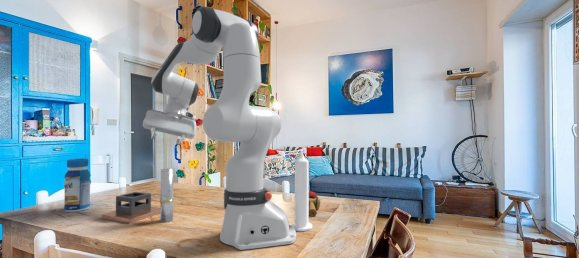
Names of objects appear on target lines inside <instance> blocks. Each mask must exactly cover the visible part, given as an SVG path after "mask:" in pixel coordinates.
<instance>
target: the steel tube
mask: <svg viewBox="0 0 579 258" xmlns="http://www.w3.org/2000/svg"><path fill="white" fill-rule="evenodd" d="M174 201H175V200H174V168H173V167H172V168H171V167H168V168H166V167H165V168H161V169H160V200H159V203H160V208H161V211H160V213H159V214H160V215H159V216H160V217H159V218H160V219H159V220H160V221H159V222H161V223H170V222H172V221H174Z"/></svg>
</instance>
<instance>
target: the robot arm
mask: <svg viewBox="0 0 579 258" xmlns="http://www.w3.org/2000/svg"><path fill="white" fill-rule="evenodd" d="M191 31H192V35H191V37H190V38H189V39H188V40H187V41H180V42H178V43H177V44H176V45H175V46H174V48H173V49H172V50H171V52H170V53H169V54H168V56H167V57H166V59H164V62H163V63H162V64H161V66H160V67H159V68H158V69H157V71H156V72H155V73H154V74H153V76H152V78H151V82H150V85H151V87H152V89H153V90H154V91H155V93H159V94H161V95H167V96H169V97H168V98H167V103H166V105H165V108H164V109H163V111H161V110H156V109H149V110H147V111H146V112H145V117H144V119H143V121H142V127H143V129H146V130H150V134H151V135H150V136H151V137H150V140H156V137H157V133H155V132H159V133H164V134H168V135H172V136H177V137H180V138H176V139H177V140H176V143H175V145H179V146H180V145H181V143H182V141H184V140H185V139H189V140H192V139H194V138H195V135H196V131H197V130H196V129H197V124H196V118H197V116H196V115H195V114H193V113H191V112H190V111H188V110H187V109H188V108H189V107H190V106H192V105H193V104H194V103H195V102H196V100H197V99H198V98H197V97H198V94H199V91H200V88H199V85H198V83H197V82H196V81H194V80H192V79H190V78H186V77H184V76H182V75H179V74H177V73H175V72H173V71H174V69H175V68H176V66H177V65H179V64H183V63H184V64H185V63H186V64H194V65H200V66H203V65H208V64H211V63H213V62H214V61H215V60H216V59H217V58H218V56H219V54H220V52H221V51H222V59H223V84H222V89H221V91H220V95H219V97H218V98H217V100H216V101H215V102H214V103H213V104H212V105H211V106H209V107H208V108H207V109H206V111H205V113H204V114H203V118H202V127H203V131H204V133H205V134H206V137H207V138H209V139H210V140H213V141H217V142H222V143H240V144H239V147H238V150H237V151H236V153H235V154H234V155H233V156H231V157H230V158H229V159H228V160H227V162H226V166H225V188H224V191H223V192H224V193H223V209H224V215H223V220H222V221H223V222H222V227H221V228H222V229H221V232H220V235H219V240H220V242H221V243H224V244H225V245H229V246H232V247H234V248H236V249H238V250H241V251H244V250H251V249H252V250H253V249H261V248H268V247H269V248H270V247H275V246H284V245H285V246H286V245H292V244H294V243H295V242H296V240H297V231H296V230H295V229H294V228H293V227H292V226H291V224H289V219H288V216H287V214H286V212H285V211H284V210H283V209H282V208H281V207H279V206H278V205H276V204H275V203H274V202H272V201H271V200H272V197H273V196H272V195H273V194H272V192H271V191H270V190H269V189H268V188H266V187H264V171H265V161H266V157H267V153H268V151H269V148H270V146H271V144H272V142H273V141H274V140H275V138H277V136H278V135H279V133H280V132H281V129H282V120H281V117H280V115H279V113H278V112H276V111H275V110H272V109H271V108H269V107H264V106H256V105H250V96H251V95H252V93H254V92H256V91H257V90H259V88H260V87H261V85H262V71H261V55H260V46H259V30H258V27H257V24H255V23H253V22H252V21H251V20H249V19H244V18H242V17H240V16H238V15H235V14H233V13H231V12H228V11H225V10H221V9H217V8H216V9H214V8H213V7H209V6H199V7H198V8H197V9H196V10H195V12H194V14H193V16H192V20H191ZM222 49H223V50H222Z"/></svg>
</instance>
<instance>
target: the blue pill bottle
mask: <svg viewBox="0 0 579 258" xmlns="http://www.w3.org/2000/svg"><path fill="white" fill-rule="evenodd" d="M88 167H89V158H70V159H67V160H66V168H67V169H68V170H67V171H66V172H65V174H64V180H65V181H64V182H63V187H64V202H63V203H64V206H63V211H64V212H66V213H77V212H82V211H86V210H89V209H90V208H91V200H90V199H91V195H90V194H91V183H92V180H91V179H90V178H91V176H92V175H91V172H90V171H89V169H88Z"/></svg>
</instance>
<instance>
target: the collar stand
mask: <svg viewBox="0 0 579 258" xmlns="http://www.w3.org/2000/svg"><path fill="white" fill-rule="evenodd" d="M144 200H145V201H144ZM122 202H125V203H122ZM160 211H161V207H156V206H152V193H149V192H141V191H134V192H129V193H124V194H121V195H116V196H115V210H113V211H108V212H105V213H101V219H102V220H108V221H113V222H114V221H115V222H119V223H124V224H125V223H126V224H129V223H130V224H133V223H136V222H138V221H142V220H144V219H147V218H151V217H153V216H157V215H158V214H160Z"/></svg>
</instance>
